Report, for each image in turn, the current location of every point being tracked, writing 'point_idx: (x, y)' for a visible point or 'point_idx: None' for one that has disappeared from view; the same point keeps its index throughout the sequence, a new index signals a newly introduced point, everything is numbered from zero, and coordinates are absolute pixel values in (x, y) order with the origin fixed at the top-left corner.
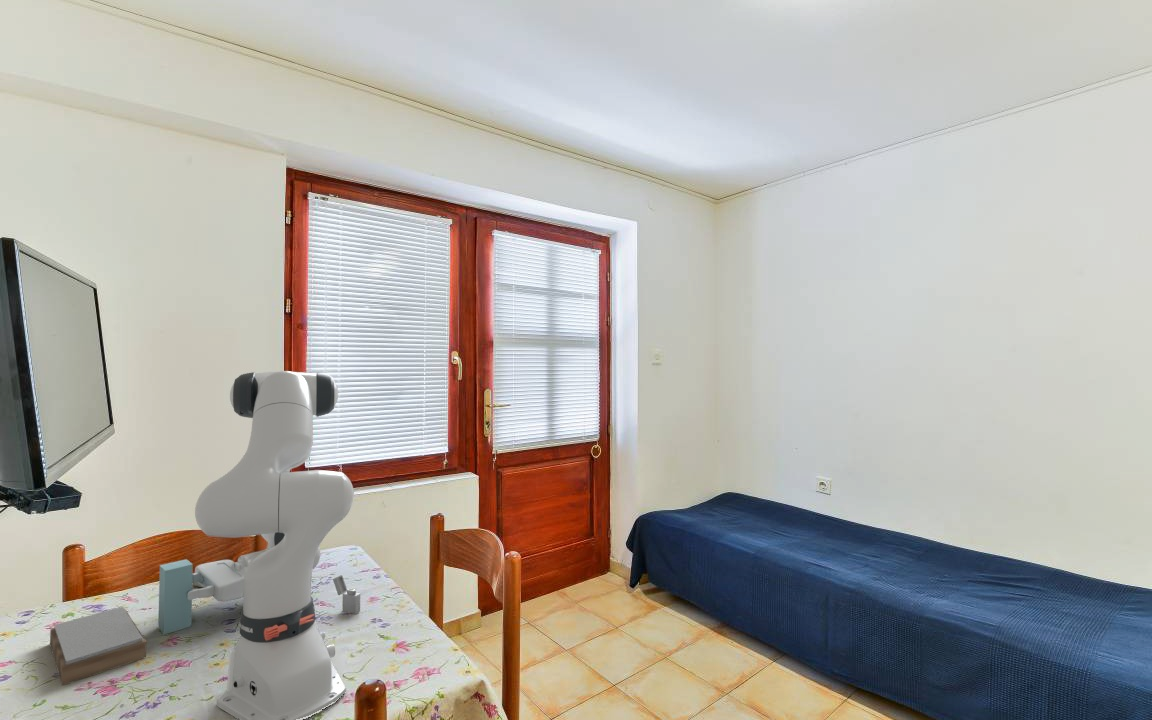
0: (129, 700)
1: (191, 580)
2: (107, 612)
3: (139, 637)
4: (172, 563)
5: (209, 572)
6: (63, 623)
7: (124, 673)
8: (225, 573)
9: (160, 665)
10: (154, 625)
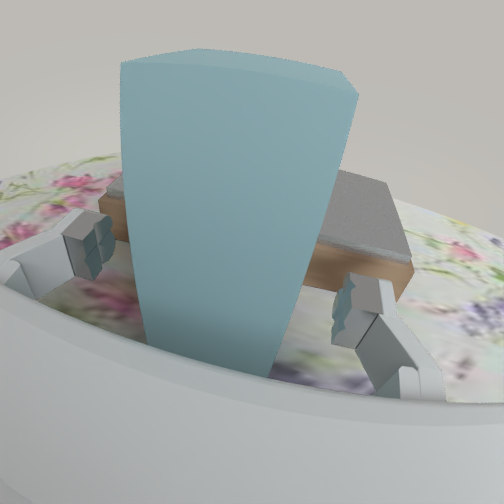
0: (21, 182)
1: (127, 197)
2: (391, 229)
3: (115, 186)
4: (316, 70)
5: (238, 418)
6: (382, 187)
7: (92, 202)
8: (2, 451)
9: (42, 231)
10: (301, 334)
